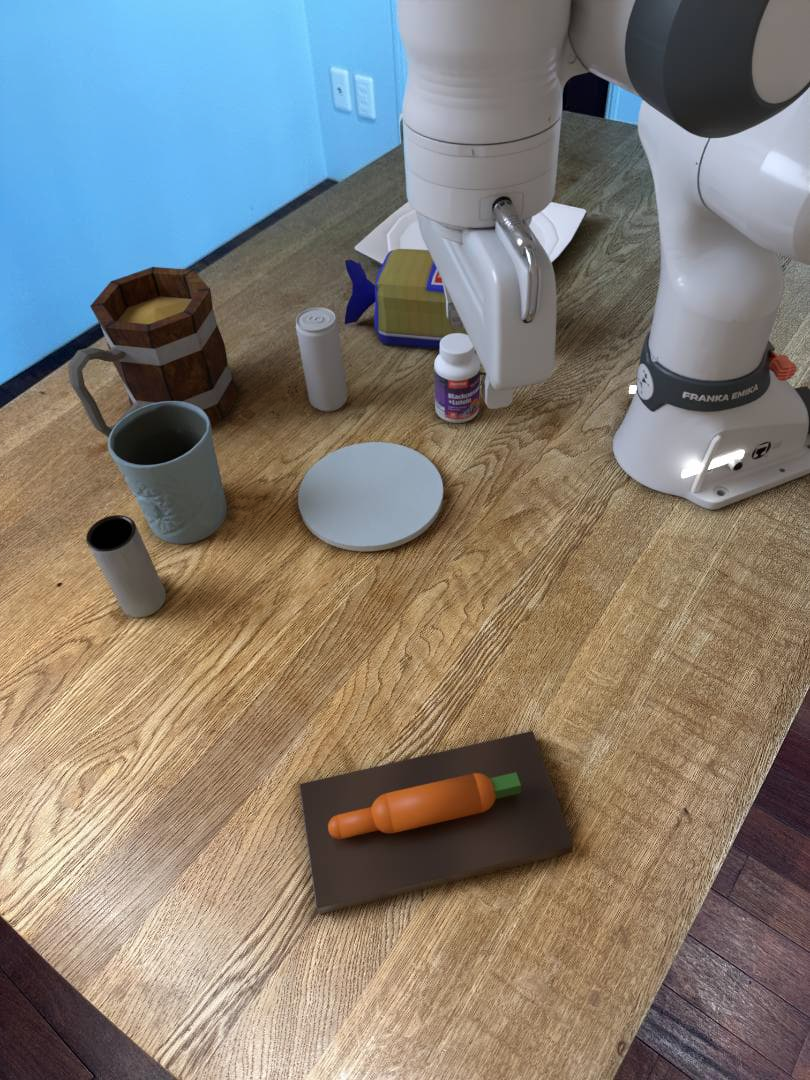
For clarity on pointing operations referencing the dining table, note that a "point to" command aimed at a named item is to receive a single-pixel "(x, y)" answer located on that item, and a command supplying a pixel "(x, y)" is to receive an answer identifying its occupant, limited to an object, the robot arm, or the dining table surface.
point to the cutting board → (432, 825)
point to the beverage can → (322, 358)
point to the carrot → (426, 805)
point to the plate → (404, 233)
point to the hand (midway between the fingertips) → (477, 360)
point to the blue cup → (171, 469)
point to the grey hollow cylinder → (126, 565)
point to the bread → (402, 300)
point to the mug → (159, 344)
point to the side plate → (370, 496)
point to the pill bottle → (457, 379)
